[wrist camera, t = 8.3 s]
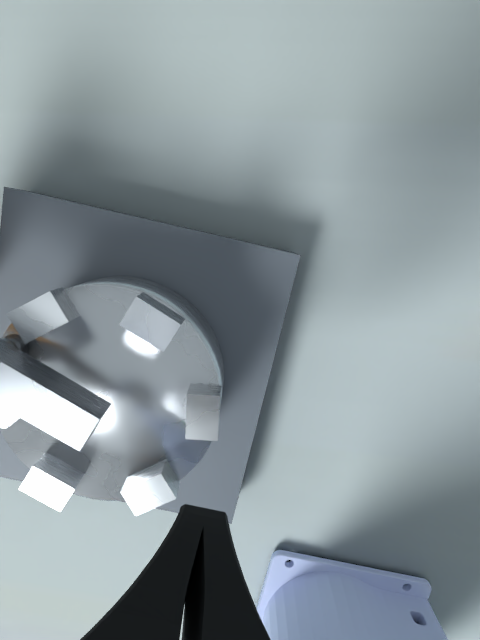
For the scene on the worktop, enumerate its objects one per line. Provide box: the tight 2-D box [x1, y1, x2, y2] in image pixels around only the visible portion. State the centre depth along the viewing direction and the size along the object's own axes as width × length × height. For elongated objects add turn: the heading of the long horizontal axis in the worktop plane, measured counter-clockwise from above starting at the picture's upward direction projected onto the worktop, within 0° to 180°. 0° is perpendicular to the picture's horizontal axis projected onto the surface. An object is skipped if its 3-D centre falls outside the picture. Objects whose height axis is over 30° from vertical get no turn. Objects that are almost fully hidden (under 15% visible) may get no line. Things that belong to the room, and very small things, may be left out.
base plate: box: [0, 187, 301, 524], centre depth 19 cm, size 13×14×2 cm
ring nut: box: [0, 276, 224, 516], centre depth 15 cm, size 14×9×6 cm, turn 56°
